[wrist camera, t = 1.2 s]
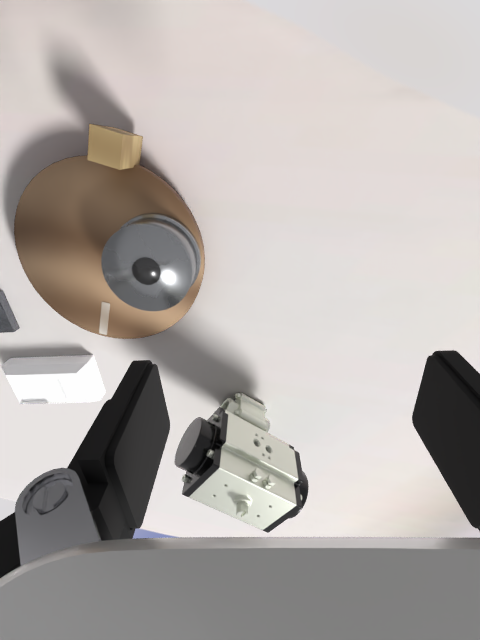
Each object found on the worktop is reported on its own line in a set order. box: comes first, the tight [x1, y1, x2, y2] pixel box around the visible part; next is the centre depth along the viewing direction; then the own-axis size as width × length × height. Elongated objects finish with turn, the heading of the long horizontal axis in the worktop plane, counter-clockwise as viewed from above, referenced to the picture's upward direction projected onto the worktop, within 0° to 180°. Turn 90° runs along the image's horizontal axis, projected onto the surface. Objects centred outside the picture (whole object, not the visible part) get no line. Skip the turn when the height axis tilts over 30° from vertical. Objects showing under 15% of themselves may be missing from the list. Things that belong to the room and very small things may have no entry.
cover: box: [101, 213, 201, 311], centre depth 24 cm, size 7×7×4 cm
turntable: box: [14, 124, 205, 339], centre depth 25 cm, size 17×15×4 cm
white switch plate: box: [1, 355, 106, 404], centre depth 34 cm, size 5×9×3 cm, turn 94°
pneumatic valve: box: [175, 393, 308, 532], centre depth 30 cm, size 6×12×12 cm, turn 55°
